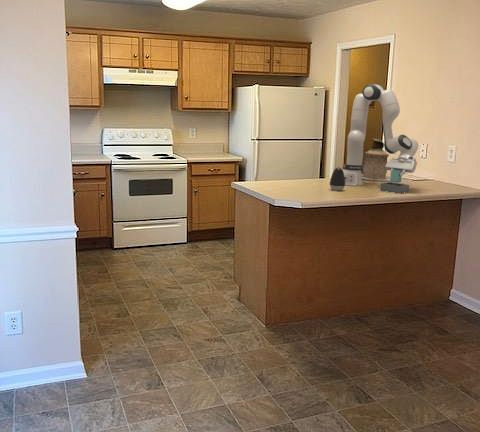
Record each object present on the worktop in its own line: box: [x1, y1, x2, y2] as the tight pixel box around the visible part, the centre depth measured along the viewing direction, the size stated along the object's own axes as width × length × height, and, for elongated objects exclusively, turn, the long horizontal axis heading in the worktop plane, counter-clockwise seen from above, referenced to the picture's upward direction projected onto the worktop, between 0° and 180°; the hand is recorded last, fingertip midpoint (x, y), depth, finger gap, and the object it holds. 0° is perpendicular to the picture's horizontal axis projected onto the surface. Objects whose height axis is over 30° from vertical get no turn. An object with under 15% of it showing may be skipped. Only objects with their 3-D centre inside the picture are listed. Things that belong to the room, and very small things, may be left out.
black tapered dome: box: [329, 166, 346, 192], centre depth 344 cm, size 10×10×15 cm
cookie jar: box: [362, 137, 391, 182], centre depth 407 cm, size 25×25×32 cm
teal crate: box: [389, 169, 403, 183], centre depth 348 cm, size 6×5×8 cm
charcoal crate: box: [379, 181, 410, 194], centre depth 349 cm, size 12×15×5 cm
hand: (395, 175), depth 347 cm, fingers closed on teal crate, 5 cm apart
